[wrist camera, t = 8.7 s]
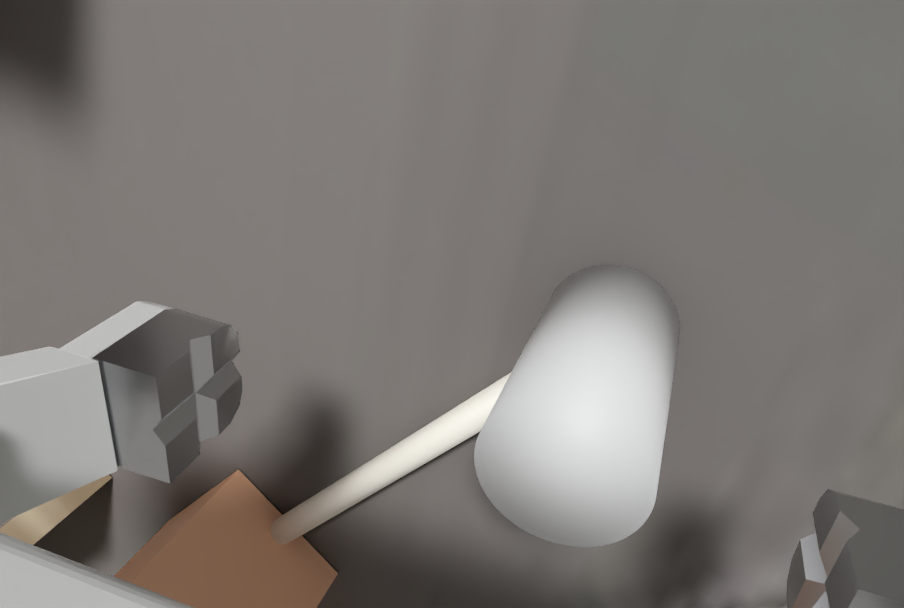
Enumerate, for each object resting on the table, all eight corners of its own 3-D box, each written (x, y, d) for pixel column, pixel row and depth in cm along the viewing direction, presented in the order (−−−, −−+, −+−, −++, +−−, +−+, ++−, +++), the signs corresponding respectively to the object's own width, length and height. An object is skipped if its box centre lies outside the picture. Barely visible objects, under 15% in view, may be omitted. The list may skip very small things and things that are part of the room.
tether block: (261, 612, 24) (78, 868, 17) (169, 519, 24) (-55, 747, 17) (733, 374, 14) (730, 750, 8) (596, 206, 14) (464, 453, 7)
